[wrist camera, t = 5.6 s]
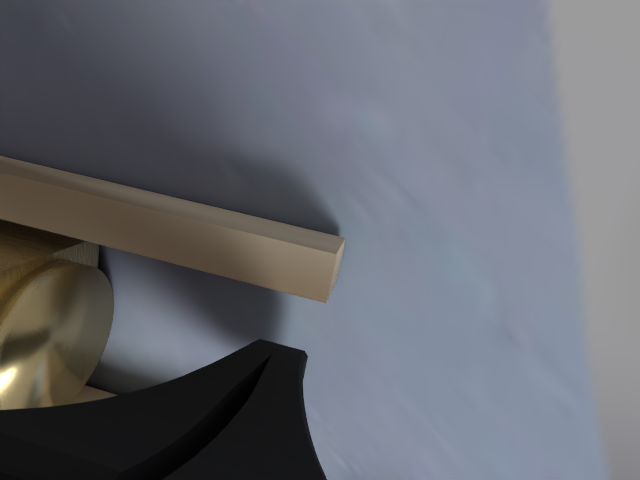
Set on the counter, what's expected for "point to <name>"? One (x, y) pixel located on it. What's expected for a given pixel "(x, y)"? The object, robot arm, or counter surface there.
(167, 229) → the guide rails
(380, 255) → the counter surface
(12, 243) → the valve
